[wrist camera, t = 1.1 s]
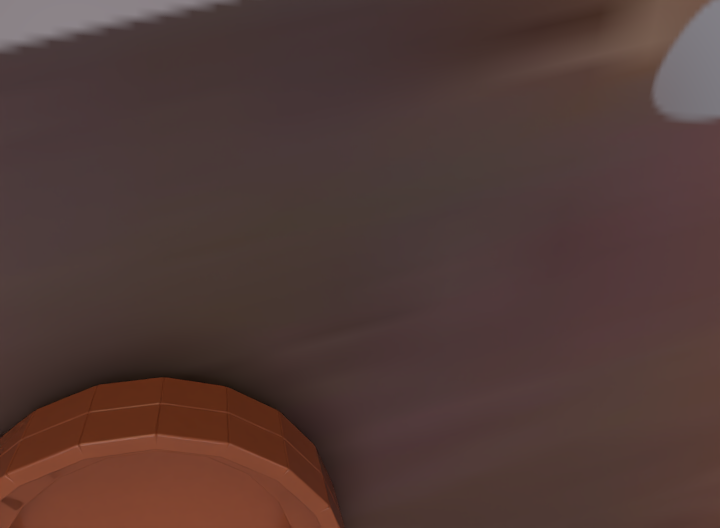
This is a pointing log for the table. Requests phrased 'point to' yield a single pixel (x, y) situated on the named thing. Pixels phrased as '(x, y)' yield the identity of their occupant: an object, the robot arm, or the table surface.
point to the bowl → (162, 462)
